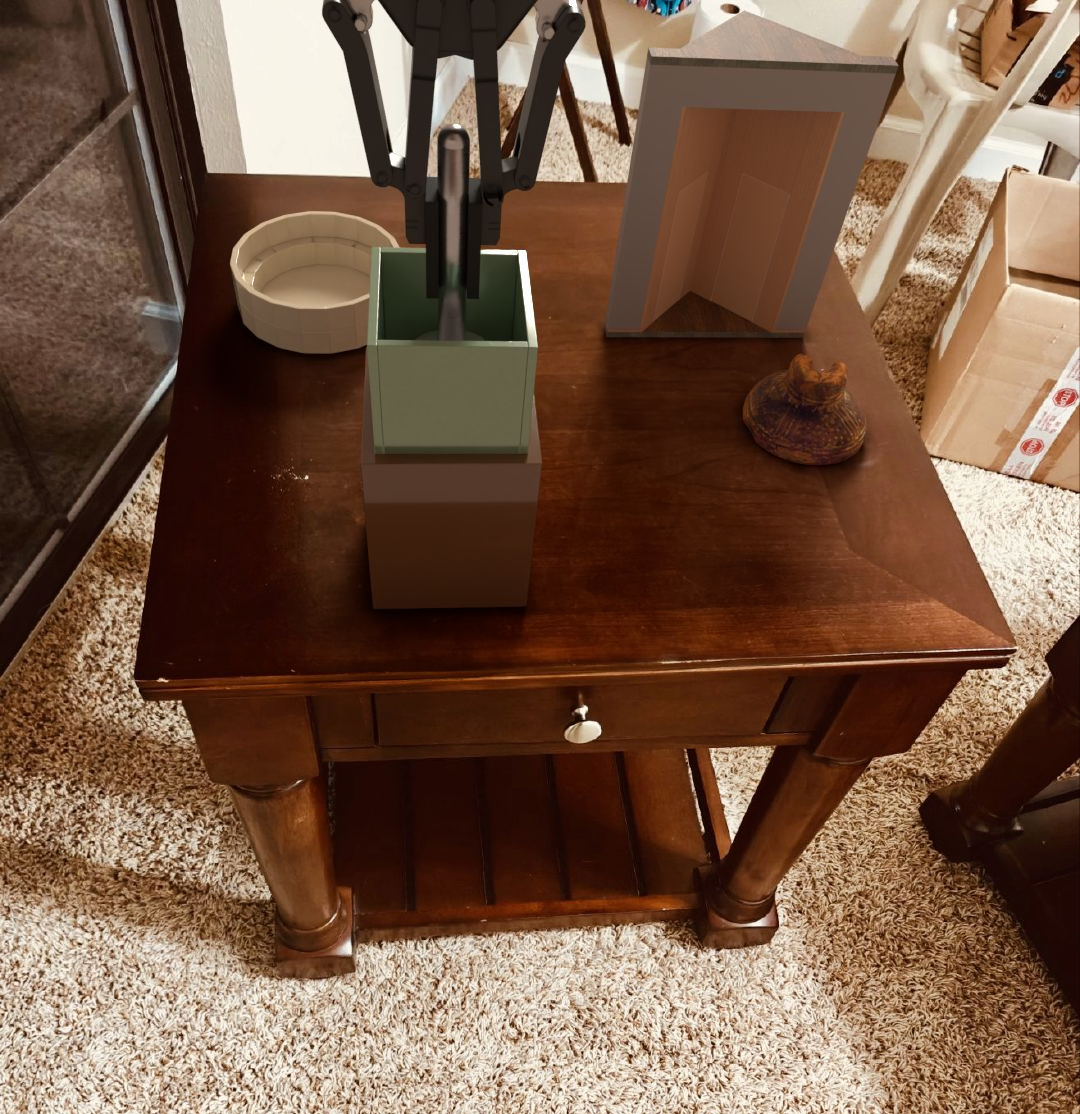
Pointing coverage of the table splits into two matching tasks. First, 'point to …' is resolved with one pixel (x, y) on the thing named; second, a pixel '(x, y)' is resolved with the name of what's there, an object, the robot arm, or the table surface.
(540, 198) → the table surface
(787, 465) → the table surface
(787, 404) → the bell
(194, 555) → the table surface
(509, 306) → the utensil holder
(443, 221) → the rod with disc base
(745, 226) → the cabinet
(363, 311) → the mixing bowl
